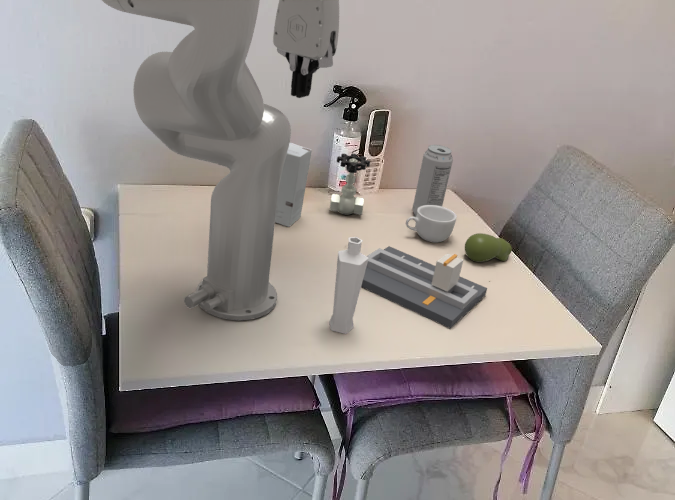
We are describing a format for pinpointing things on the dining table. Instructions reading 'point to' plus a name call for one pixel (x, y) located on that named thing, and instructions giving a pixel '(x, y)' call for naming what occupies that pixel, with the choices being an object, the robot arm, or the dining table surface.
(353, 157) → the valve
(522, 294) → the dining table surface
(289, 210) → the skincare box
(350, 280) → the perfume bottle
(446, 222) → the teacup
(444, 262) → the fader
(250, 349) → the dining table surface
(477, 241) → the pear
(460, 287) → the console
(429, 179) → the energy drink can
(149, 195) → the dining table surface
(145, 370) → the dining table surface
